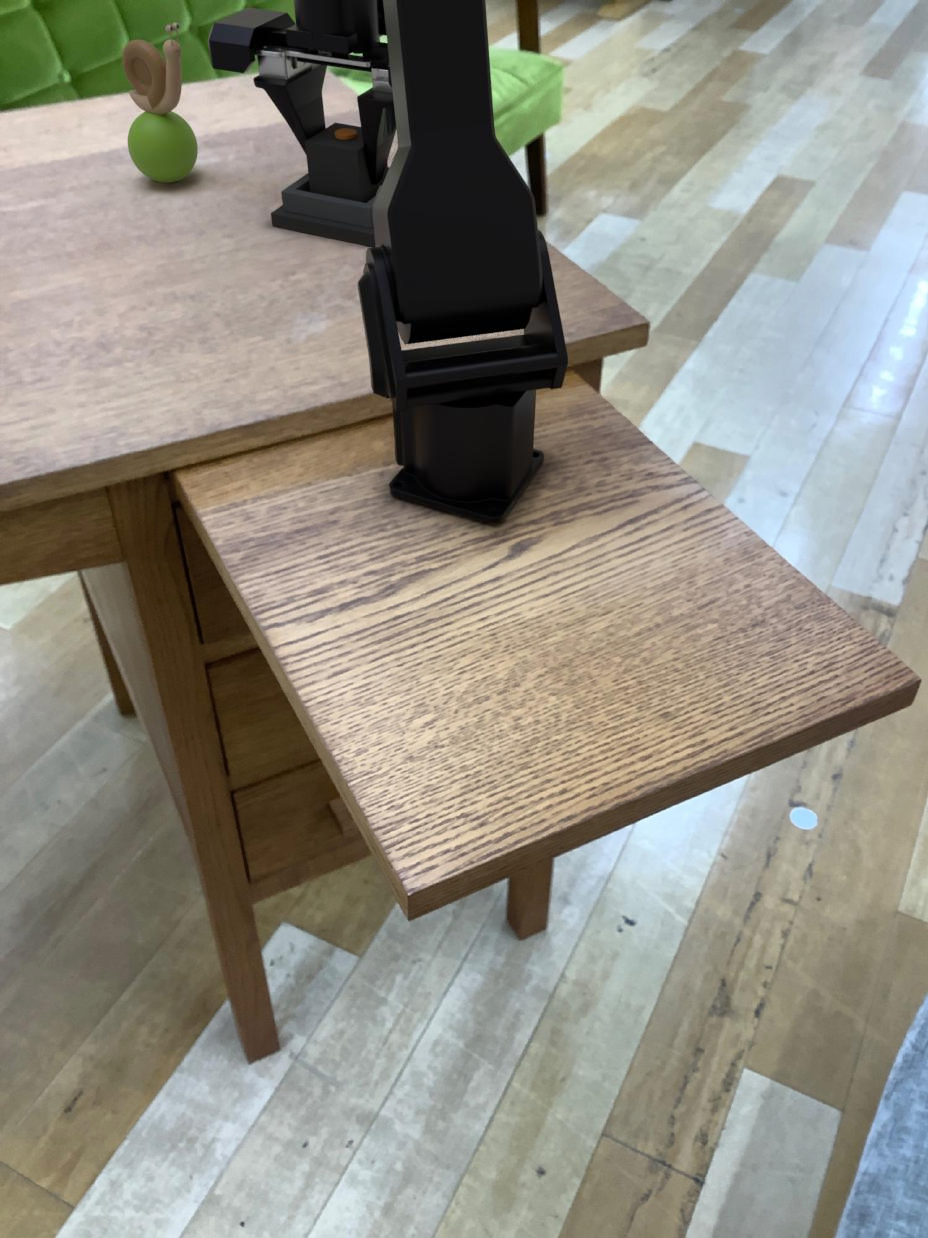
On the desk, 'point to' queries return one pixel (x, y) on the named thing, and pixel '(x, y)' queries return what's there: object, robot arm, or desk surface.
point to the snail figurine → (158, 111)
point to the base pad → (325, 214)
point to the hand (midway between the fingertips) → (349, 177)
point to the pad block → (340, 164)
